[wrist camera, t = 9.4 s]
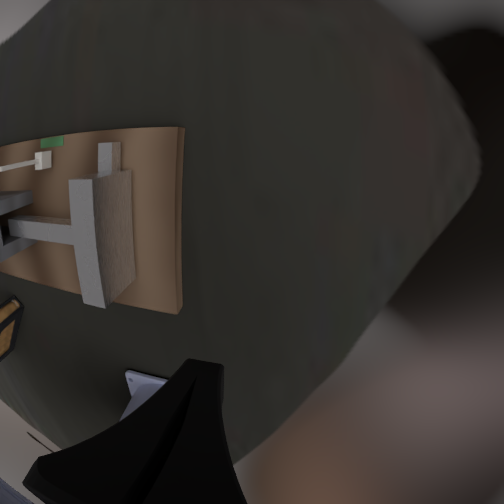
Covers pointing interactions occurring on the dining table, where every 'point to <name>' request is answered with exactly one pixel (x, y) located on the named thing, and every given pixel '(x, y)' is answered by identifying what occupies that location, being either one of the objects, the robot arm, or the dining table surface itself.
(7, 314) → the ammunition clip
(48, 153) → the rod
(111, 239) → the grey angular piece
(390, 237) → the dining table surface
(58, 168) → the frame
